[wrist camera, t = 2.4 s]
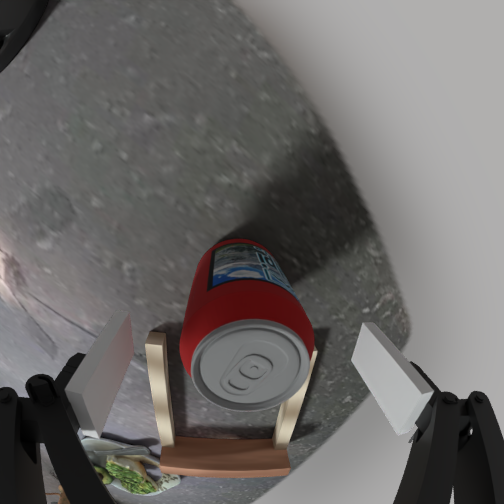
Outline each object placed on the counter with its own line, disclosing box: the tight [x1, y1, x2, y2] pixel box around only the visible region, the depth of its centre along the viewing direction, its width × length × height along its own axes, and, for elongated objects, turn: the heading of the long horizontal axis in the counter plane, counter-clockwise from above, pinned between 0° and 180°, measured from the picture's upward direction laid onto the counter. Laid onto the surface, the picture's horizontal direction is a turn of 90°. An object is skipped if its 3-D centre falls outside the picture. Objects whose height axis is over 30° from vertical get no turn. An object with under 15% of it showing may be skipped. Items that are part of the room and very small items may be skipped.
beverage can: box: [180, 239, 315, 412], centre depth 17 cm, size 7×7×12 cm
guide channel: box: [145, 331, 317, 478], centre depth 25 cm, size 18×15×5 cm
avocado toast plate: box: [81, 437, 181, 496], centre depth 28 cm, size 19×18×5 cm
